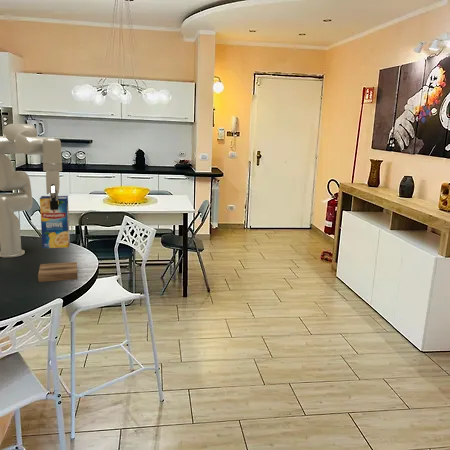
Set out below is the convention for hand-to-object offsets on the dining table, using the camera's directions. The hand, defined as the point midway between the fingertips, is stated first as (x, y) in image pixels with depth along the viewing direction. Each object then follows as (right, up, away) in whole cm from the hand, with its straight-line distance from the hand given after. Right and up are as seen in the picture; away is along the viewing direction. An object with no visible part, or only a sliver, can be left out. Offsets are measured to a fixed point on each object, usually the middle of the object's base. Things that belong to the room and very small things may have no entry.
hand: (54, 207), depth 192 cm
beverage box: (-1, -17, +4) cm, 17 cm away
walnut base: (-1, -30, +7) cm, 31 cm away
